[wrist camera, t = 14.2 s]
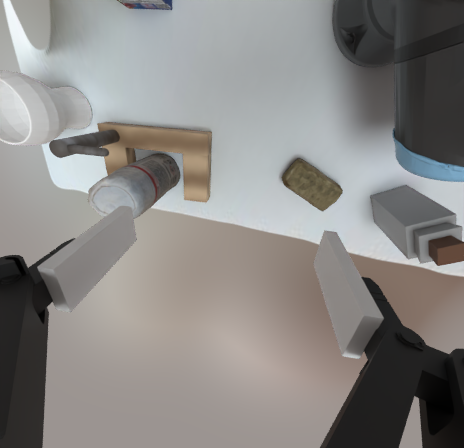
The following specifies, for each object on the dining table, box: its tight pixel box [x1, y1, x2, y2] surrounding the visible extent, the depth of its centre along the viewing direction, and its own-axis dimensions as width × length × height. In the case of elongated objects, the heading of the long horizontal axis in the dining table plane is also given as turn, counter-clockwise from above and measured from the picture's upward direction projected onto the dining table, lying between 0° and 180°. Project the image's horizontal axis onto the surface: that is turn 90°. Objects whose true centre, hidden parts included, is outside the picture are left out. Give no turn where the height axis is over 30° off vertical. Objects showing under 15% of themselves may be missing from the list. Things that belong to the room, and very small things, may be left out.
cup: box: [0, 71, 92, 146], centre depth 40 cm, size 11×11×15 cm
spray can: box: [88, 153, 180, 219], centre depth 42 cm, size 8×8×20 cm
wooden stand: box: [49, 122, 212, 202], centre depth 42 cm, size 14×22×18 cm, turn 86°
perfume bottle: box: [370, 185, 464, 266], centre depth 40 cm, size 7×7×18 cm
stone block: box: [282, 159, 343, 211], centre depth 46 cm, size 6×12×5 cm, turn 59°
